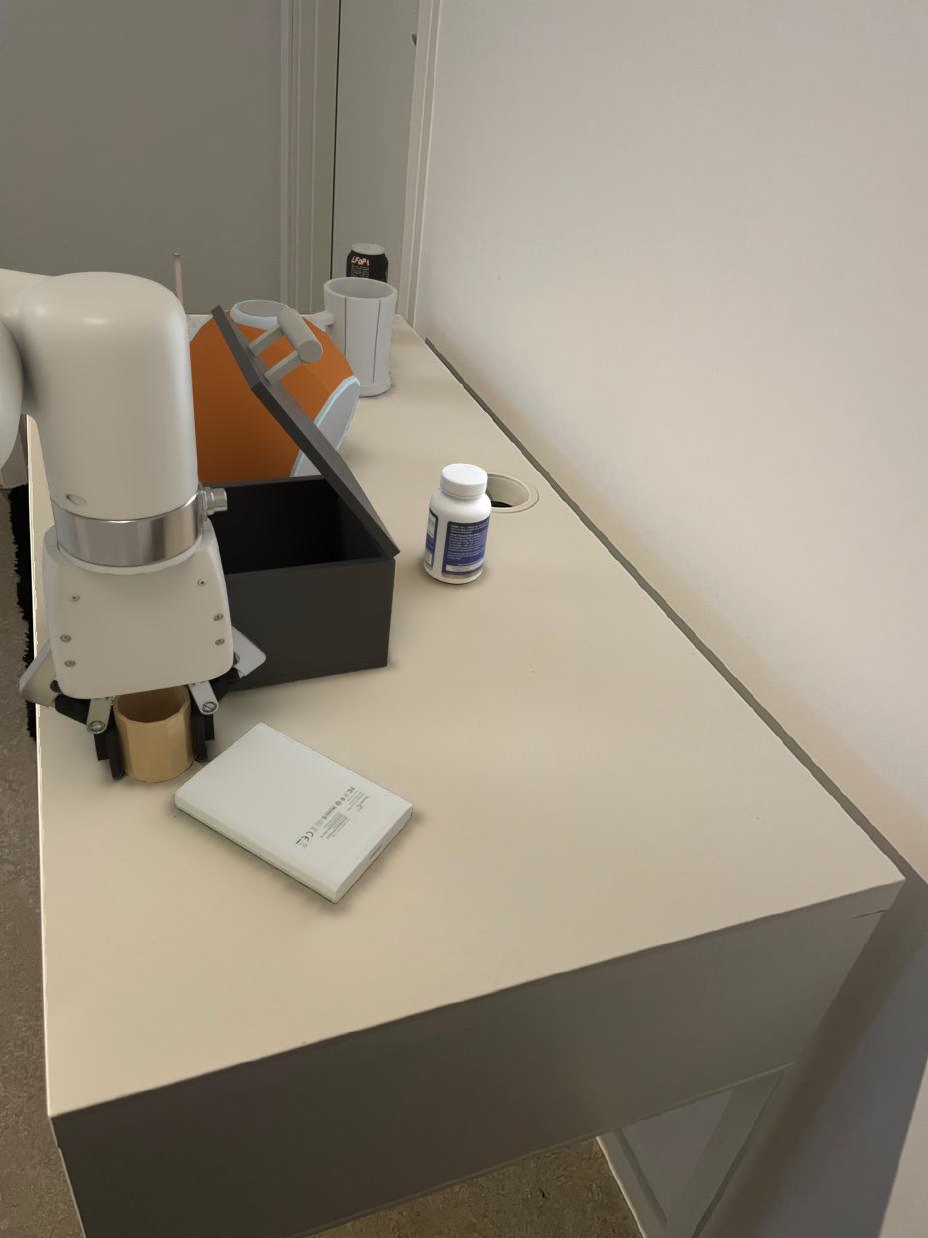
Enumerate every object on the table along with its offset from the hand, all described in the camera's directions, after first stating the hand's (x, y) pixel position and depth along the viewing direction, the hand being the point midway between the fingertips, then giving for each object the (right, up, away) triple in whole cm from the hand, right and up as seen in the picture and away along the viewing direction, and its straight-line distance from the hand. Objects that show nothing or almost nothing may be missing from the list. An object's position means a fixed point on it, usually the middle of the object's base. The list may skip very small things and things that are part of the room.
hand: (157, 752), depth 60 cm
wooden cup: (0, 0, 0) cm, 0 cm away
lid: (+9, +22, +4) cm, 24 cm away
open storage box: (+5, +8, +13) cm, 16 cm away
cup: (+6, +38, +54) cm, 67 cm away
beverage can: (+6, +50, +70) cm, 86 cm away
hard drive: (+10, -4, -2) cm, 10 cm away
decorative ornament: (-13, +37, +49) cm, 63 cm away
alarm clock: (0, +23, +33) cm, 40 cm away
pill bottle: (+19, +13, +23) cm, 33 cm away
